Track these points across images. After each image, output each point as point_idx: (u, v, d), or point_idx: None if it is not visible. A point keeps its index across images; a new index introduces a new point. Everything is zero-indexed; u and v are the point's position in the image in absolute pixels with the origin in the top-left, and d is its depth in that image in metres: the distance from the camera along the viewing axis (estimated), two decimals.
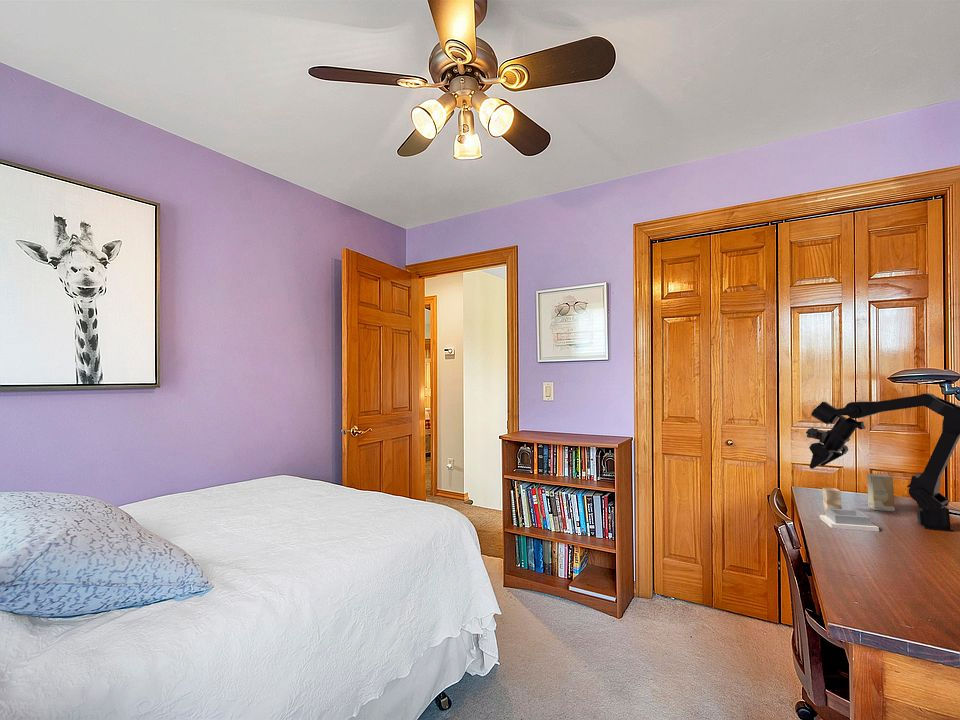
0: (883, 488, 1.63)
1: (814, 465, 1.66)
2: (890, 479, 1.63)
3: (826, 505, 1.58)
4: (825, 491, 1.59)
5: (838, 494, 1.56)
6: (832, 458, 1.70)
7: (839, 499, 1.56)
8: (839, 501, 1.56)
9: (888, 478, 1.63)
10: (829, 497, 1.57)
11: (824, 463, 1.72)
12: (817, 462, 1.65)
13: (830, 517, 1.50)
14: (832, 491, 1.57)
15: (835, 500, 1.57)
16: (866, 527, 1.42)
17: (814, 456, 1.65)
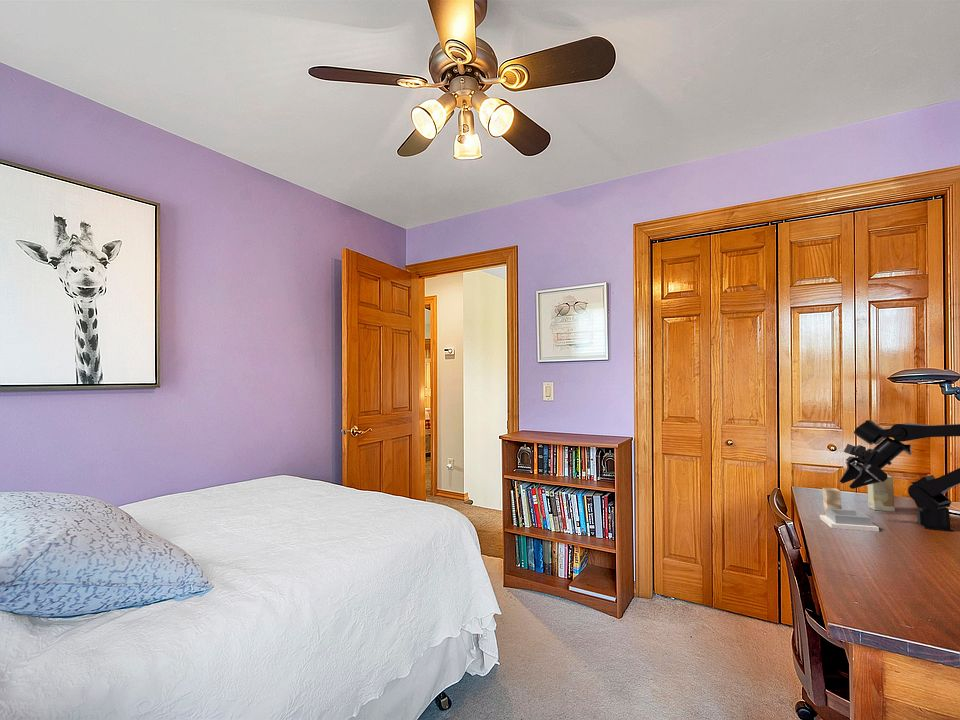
0: (883, 488, 1.63)
1: (857, 485, 1.52)
2: (890, 479, 1.63)
3: (826, 505, 1.58)
4: (825, 491, 1.59)
5: (838, 494, 1.56)
6: (854, 477, 1.61)
7: (839, 499, 1.56)
8: (839, 501, 1.56)
9: (888, 478, 1.63)
10: (829, 497, 1.57)
11: (845, 481, 1.61)
12: (862, 483, 1.51)
13: (830, 517, 1.50)
14: (832, 491, 1.57)
15: (835, 500, 1.57)
16: (866, 527, 1.42)
17: (861, 476, 1.51)
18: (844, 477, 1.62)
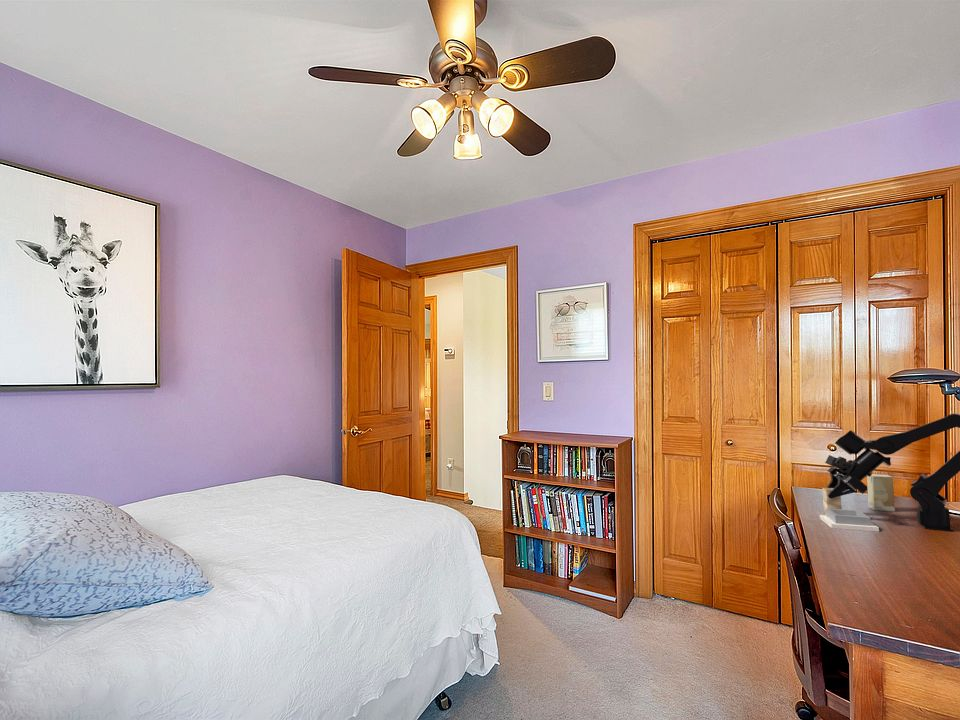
0: (883, 488, 1.63)
1: (835, 495, 1.56)
2: (890, 479, 1.63)
3: (826, 505, 1.58)
4: (825, 491, 1.59)
5: None
6: None
7: (839, 499, 1.56)
8: (839, 501, 1.56)
9: (888, 478, 1.63)
10: None
11: None
12: (840, 493, 1.55)
13: (830, 517, 1.50)
14: None
15: (835, 500, 1.57)
16: (866, 527, 1.42)
17: (839, 486, 1.55)
18: None
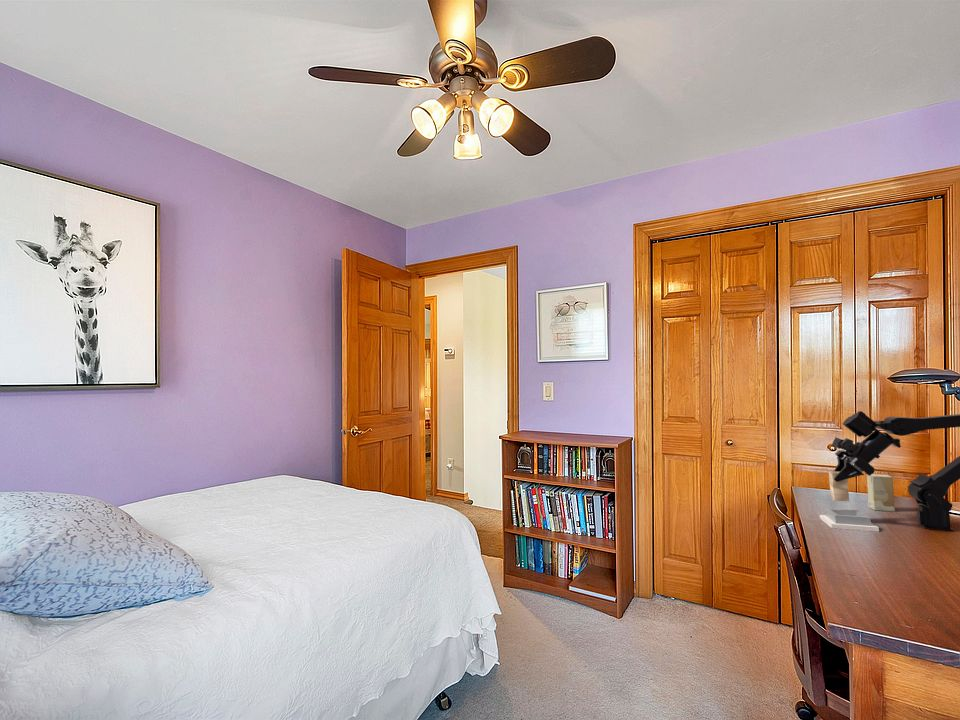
0: (883, 488, 1.63)
1: (841, 478, 1.51)
2: (890, 479, 1.63)
3: (832, 489, 1.53)
4: (831, 474, 1.54)
5: None
6: None
7: (846, 482, 1.51)
8: (846, 484, 1.51)
9: (888, 478, 1.63)
10: None
11: None
12: (847, 476, 1.50)
13: (830, 517, 1.50)
14: None
15: (842, 483, 1.51)
16: (866, 527, 1.42)
17: (846, 469, 1.50)
18: None
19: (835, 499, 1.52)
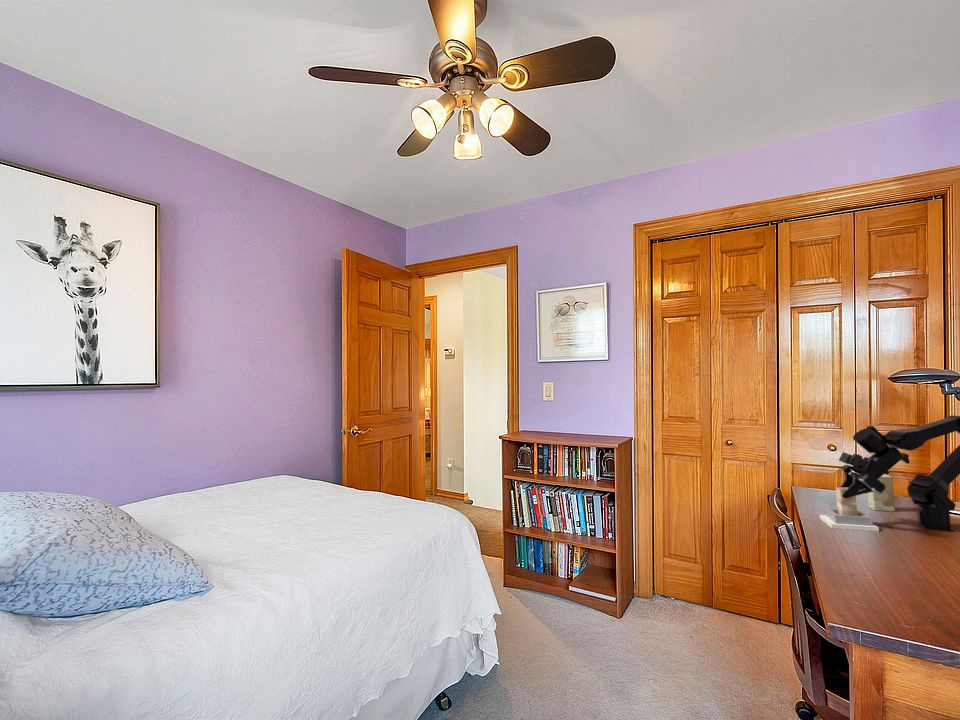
0: None
1: (850, 495, 1.46)
2: (890, 479, 1.63)
3: (840, 505, 1.48)
4: (839, 490, 1.49)
5: None
6: None
7: (854, 499, 1.46)
8: (854, 501, 1.46)
9: (888, 478, 1.63)
10: (843, 497, 1.47)
11: None
12: (856, 493, 1.45)
13: (830, 517, 1.50)
14: None
15: (850, 500, 1.47)
16: (866, 527, 1.42)
17: (855, 485, 1.45)
18: None
19: None
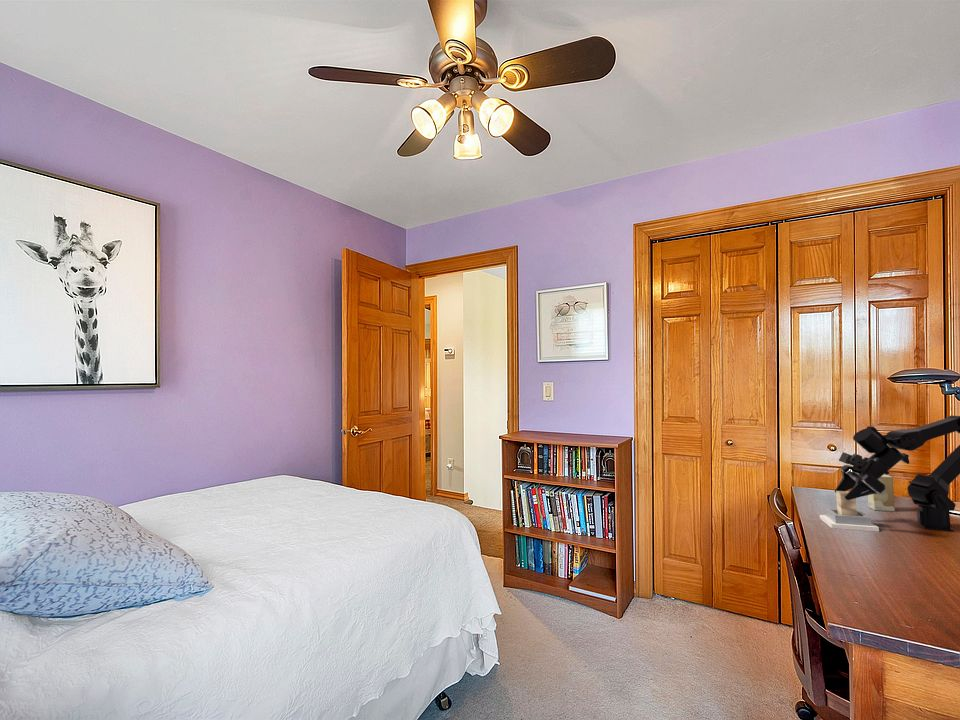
0: None
1: (853, 497, 1.44)
2: (890, 479, 1.63)
3: (840, 509, 1.48)
4: (839, 494, 1.49)
5: None
6: (849, 487, 1.52)
7: (854, 503, 1.46)
8: (854, 505, 1.46)
9: (888, 478, 1.63)
10: (843, 501, 1.47)
11: None
12: (858, 494, 1.43)
13: (830, 517, 1.50)
14: None
15: (850, 504, 1.47)
16: (866, 527, 1.42)
17: (857, 487, 1.43)
18: (839, 487, 1.53)
19: None
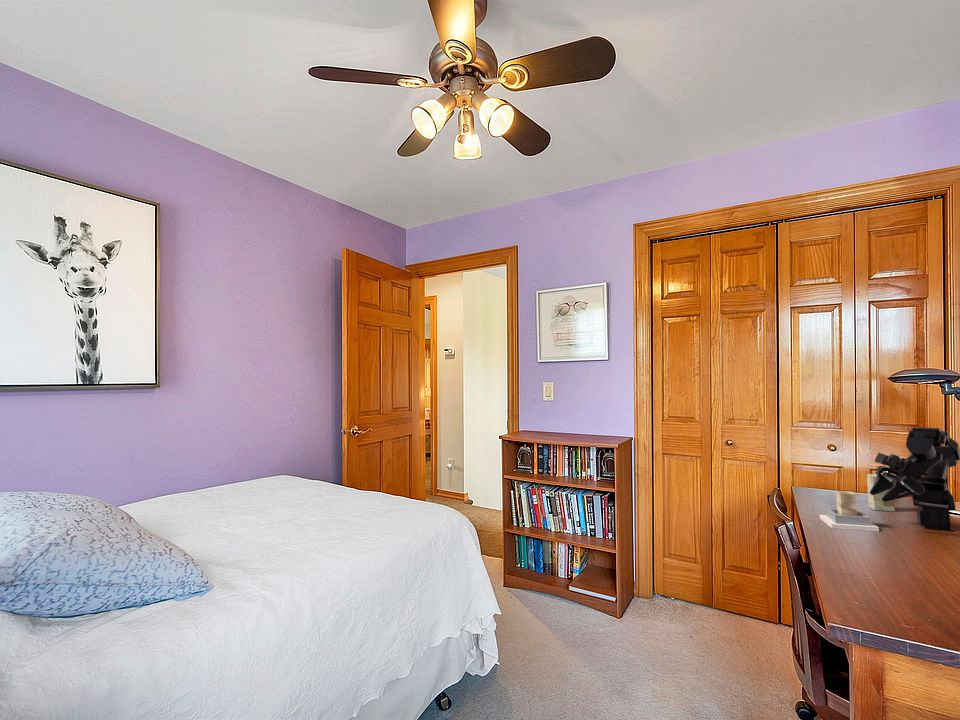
0: None
1: (890, 498, 1.41)
2: None
3: (840, 509, 1.48)
4: (839, 494, 1.49)
5: (853, 498, 1.46)
6: (885, 488, 1.49)
7: (854, 503, 1.46)
8: (854, 505, 1.46)
9: None
10: (843, 501, 1.47)
11: (875, 492, 1.50)
12: (896, 496, 1.40)
13: (830, 517, 1.50)
14: (847, 494, 1.47)
15: (850, 504, 1.47)
16: (866, 527, 1.42)
17: (895, 488, 1.40)
18: (874, 488, 1.50)
19: None
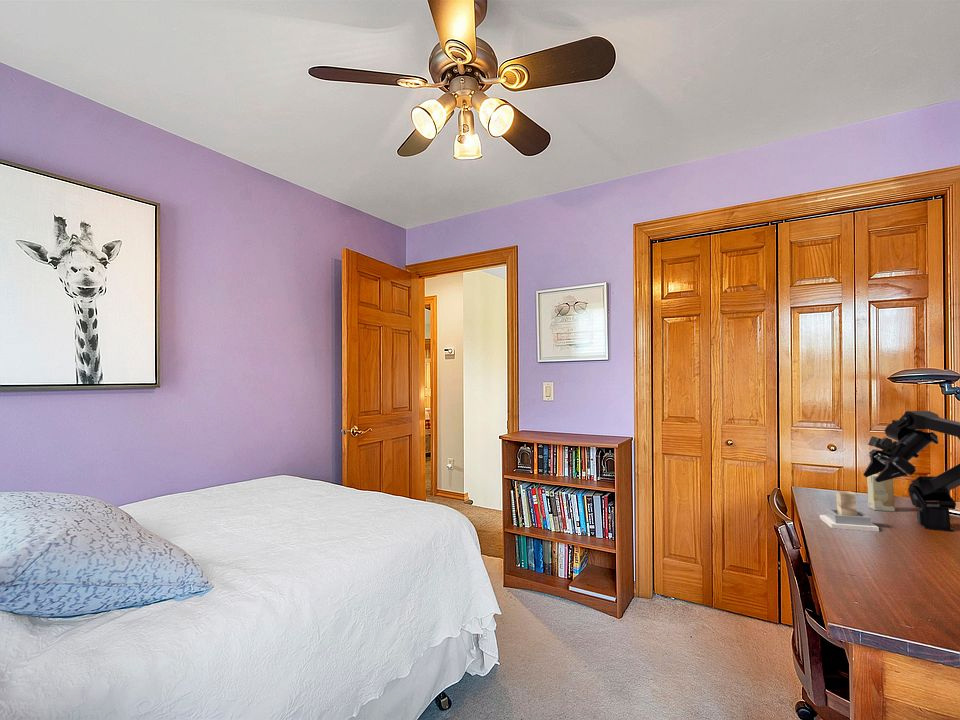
0: (883, 488, 1.63)
1: (883, 479, 1.48)
2: (890, 479, 1.63)
3: (840, 509, 1.48)
4: (839, 494, 1.49)
5: (853, 498, 1.46)
6: (878, 470, 1.57)
7: (854, 503, 1.46)
8: (854, 505, 1.46)
9: None
10: (843, 501, 1.47)
11: (869, 474, 1.57)
12: (889, 477, 1.47)
13: (830, 517, 1.50)
14: (847, 494, 1.47)
15: (850, 504, 1.47)
16: (866, 527, 1.42)
17: (888, 469, 1.47)
18: (868, 470, 1.57)
19: None
